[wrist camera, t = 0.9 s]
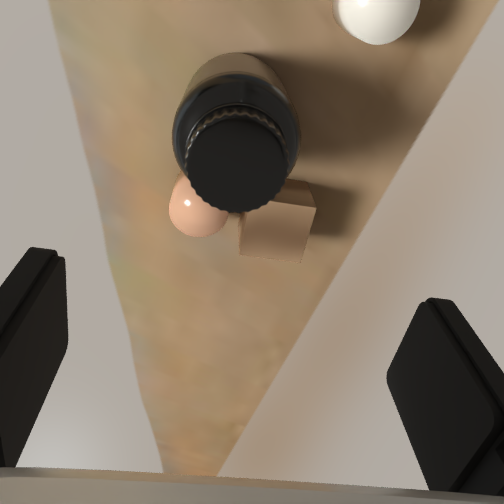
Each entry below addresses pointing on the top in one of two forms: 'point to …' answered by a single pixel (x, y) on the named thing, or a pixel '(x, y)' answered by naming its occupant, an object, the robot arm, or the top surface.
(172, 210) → the peach rounded dome
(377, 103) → the top surface
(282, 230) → the walnut block
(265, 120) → the supplement bottle
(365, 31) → the white egg
